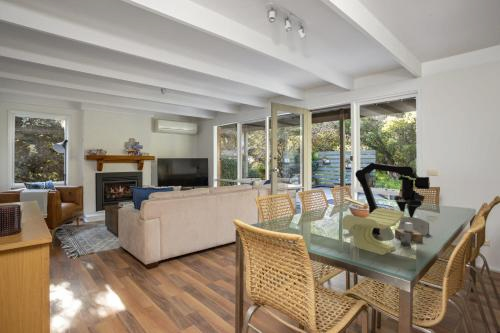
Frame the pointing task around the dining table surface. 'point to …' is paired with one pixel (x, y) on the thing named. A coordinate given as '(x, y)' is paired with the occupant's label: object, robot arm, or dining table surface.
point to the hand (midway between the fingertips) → (406, 215)
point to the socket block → (414, 236)
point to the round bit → (405, 239)
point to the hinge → (416, 224)
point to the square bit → (408, 227)
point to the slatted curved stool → (366, 225)
